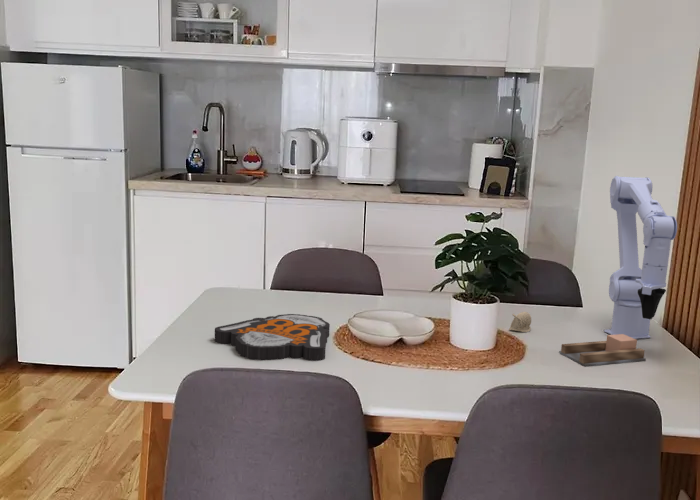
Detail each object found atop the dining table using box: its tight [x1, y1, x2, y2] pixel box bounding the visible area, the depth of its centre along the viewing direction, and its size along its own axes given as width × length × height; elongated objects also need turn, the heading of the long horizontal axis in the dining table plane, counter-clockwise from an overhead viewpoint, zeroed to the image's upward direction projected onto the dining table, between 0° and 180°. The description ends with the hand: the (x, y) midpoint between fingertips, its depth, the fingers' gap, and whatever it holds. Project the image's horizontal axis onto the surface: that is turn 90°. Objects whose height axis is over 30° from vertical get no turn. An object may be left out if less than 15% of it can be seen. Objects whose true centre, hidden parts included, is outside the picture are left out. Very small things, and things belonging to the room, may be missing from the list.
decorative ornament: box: [508, 311, 532, 333], centre depth 195 cm, size 4×8×5 cm, turn 128°
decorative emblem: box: [214, 313, 330, 362], centre depth 176 cm, size 29×3×30 cm
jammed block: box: [605, 334, 638, 351], centre depth 177 cm, size 5×5×4 cm
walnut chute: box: [558, 340, 647, 368], centre depth 175 cm, size 18×10×2 cm, turn 110°
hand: (648, 317), depth 178 cm, fingers open, 2 cm apart
